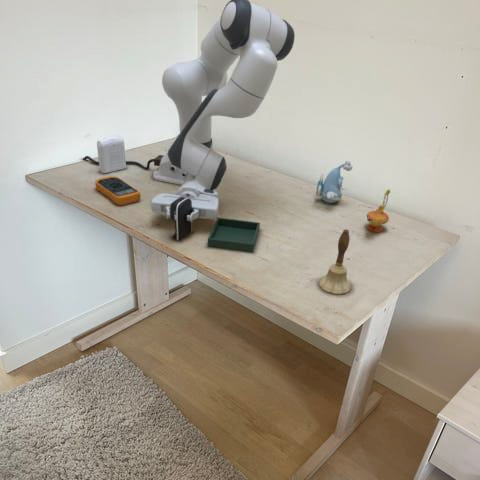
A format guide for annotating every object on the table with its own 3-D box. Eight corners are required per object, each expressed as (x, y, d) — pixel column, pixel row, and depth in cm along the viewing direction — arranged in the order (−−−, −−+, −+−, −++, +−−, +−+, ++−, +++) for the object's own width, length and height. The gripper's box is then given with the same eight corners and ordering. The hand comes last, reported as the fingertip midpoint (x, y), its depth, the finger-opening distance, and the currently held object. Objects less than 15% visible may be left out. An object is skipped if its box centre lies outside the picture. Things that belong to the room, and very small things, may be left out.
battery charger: (181, 229, 150) (181, 193, 144) (192, 232, 149) (192, 196, 142) (168, 238, 145) (167, 202, 138) (179, 242, 144) (179, 205, 137)
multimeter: (116, 183, 175) (115, 174, 173) (142, 201, 165) (141, 191, 163) (93, 188, 171) (92, 179, 169) (119, 207, 160) (118, 197, 158)
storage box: (207, 246, 143) (207, 238, 141) (217, 225, 154) (217, 217, 153) (253, 252, 142) (253, 244, 140) (259, 230, 153) (260, 222, 151)
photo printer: (121, 165, 189) (118, 132, 182) (128, 168, 187) (125, 135, 180) (98, 171, 183) (93, 137, 176) (104, 174, 181) (100, 140, 174)
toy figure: (344, 213, 166) (353, 170, 157) (313, 209, 167) (319, 166, 158) (346, 194, 179) (354, 153, 170) (317, 190, 180) (323, 149, 171)
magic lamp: (353, 237, 152) (360, 204, 146) (372, 217, 165) (379, 185, 158) (374, 244, 150) (383, 210, 143) (392, 222, 162) (400, 190, 156)
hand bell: (316, 276, 133) (326, 222, 123) (346, 277, 134) (358, 223, 124) (322, 294, 126) (332, 238, 117) (353, 294, 127) (367, 239, 117)
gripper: (157, 185, 152) (143, 203, 141) (222, 192, 150) (213, 211, 140) (158, 204, 156) (144, 223, 145) (222, 211, 154) (213, 231, 143)
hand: (179, 217), depth 142 cm, fingers closed on battery charger, 4 cm apart
